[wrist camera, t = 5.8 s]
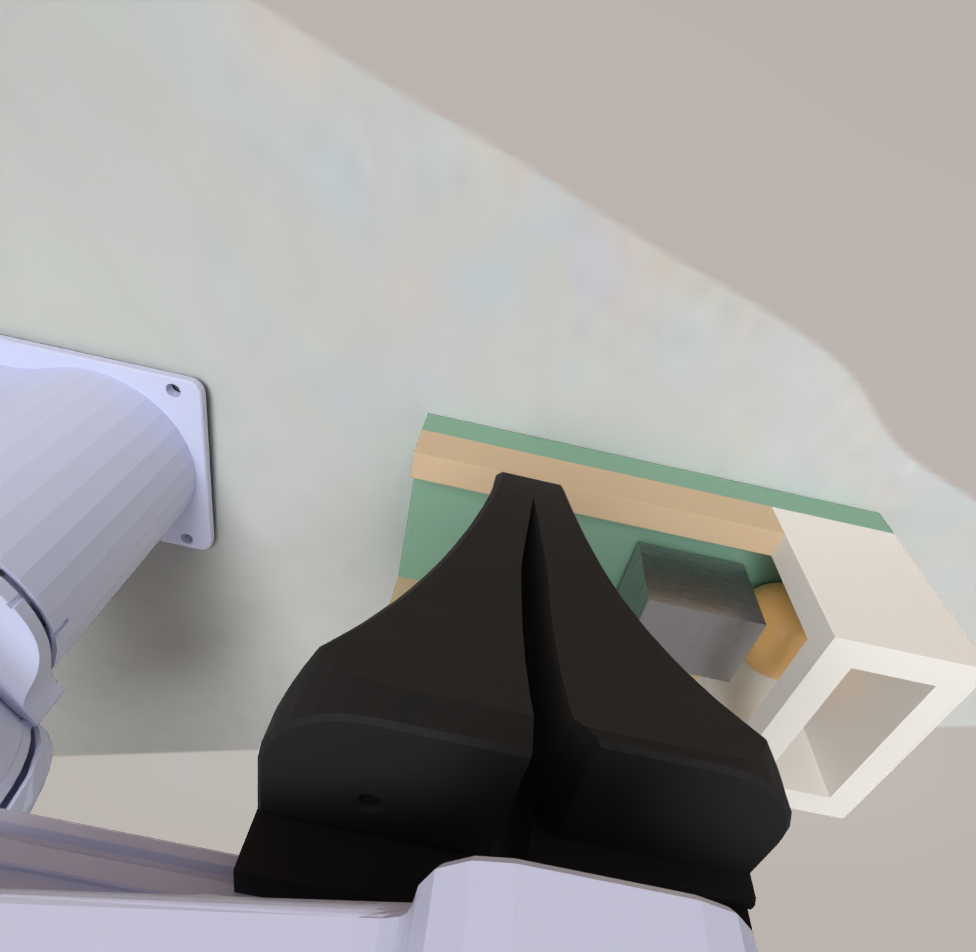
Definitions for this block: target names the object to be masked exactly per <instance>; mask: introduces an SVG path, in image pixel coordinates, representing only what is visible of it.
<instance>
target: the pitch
mask: <svg viewBox="0 0 976 952" xmlns="http://www.w3.org/2000/svg"><path fill="white" fill-rule="evenodd" d="M501 472H506V473H510V474H514V475H519V476H523V477H528V478H532V479H537V480H541V481H545V482H550V483H554V484H559V485H561V486H562V488H563V489H564V491H565V494H566V496H567V498H568V501H569V503H570V505H571V508H572V510H573V512H574V514H575V516H576V518H577V520H578V523H579V525H580V527H581V529H582V531H583V533H584V535H585V537H586V539H587V541H588V542H589V544H590V546H591V548H592V550H593V552H594V553H595V555H596V557H597V559H598V561H599V562H600V564H601V566H602V568H603V569H604V571H605V572H606V574H607V576H608V577H609V579H610V580H611V582H612V584H613V585H614V587H615V588H616V590H618V588H619V586H620V583H621V581H622V579H623V577H624V574H625V572H626V570H627V568H628V565H629V563H630V561H631V558H632V556H633V554H634V552H635V549H636V547H637V545H638V543H639V542H642V543H647V544H652V545H656V546H661V547H665V548H670V549H675V550H679V551H684V552H688V553H693V554H698V555H702V556H707V557H712V558H716V559H721V560H725V561H730V562H735V563H739V564H744V566H745V569H746V572H747V574H748V577H749V580H750V582H751V585H752V588H753V589H754V588H756V587H758V586H761V585H764V584H768V583H783V584H784V586H785V588H786V591H787V593H788V595H789V598H790V600H791V602H792V604H793V607H794V609H795V611H796V614H797V616H798V618H799V620H800V623H801V625H802V627H803V630H804V632H805V634H806V636H807V641H806V642H805V643H804V645H803V646H802V648H801V649H800V650H799V652H798V653H797V654H796V656H795V657H794V659H793V660H792V661H791V663H790V664H789V666H788V667H787V668H786V670H785V671H784V673H783V674H782V675H781V677H780V678H779V679H778V680H774V679H770V678H768V677H766V676H763V675H761V674H760V673H758V672H756V671H755V670H754V669H752V668H751V667H750V666H749V665H748V664H747V663H746V662H745V661H744V660H743V662H742V664H741V665H740V667H739V668H738V670H737V671H736V673H735V674H734V676H733V677H732V679H731V680H730V682H725V681H720V680H716V679H711V678H706V677H701V676H697V675H692V674H689V675H690V676H691V677H693V678H694V679H695V680H696V681H697V682H698V683H699V684H700V685H701V686H702V687H703V688H705V689H706V690H707V691H708V692H709V693H710V694H711V695H712V696H713V697H714V698H716V699H717V700H718V701H719V702H720V703H721V704H723V705H724V706H725V707H726V708H728V709H729V710H730V711H731V712H733V713H734V714H735V715H736V716H738V717H739V718H740V719H741V720H743V721H744V722H745V723H746V724H748V725H749V726H750V727H751V728H753V729H754V730H755V731H756V732H758V733H759V734H760V735H761V736H763V737H764V738H765V739H766V740H767V742H768V744H769V747H770V750H771V752H772V755H773V757H774V759H775V762H776V764H777V767H778V770H779V773H780V776H781V779H782V782H783V786H784V789H785V793H786V796H787V799H788V802H789V805H790V808H793V809H798V810H803V811H809V812H813V813H818V814H823V815H828V816H833V817H837V818H844V817H845V816H846V815H847V814H848V813H849V812H850V811H851V810H852V809H853V808H854V807H855V806H856V805H857V804H858V803H859V802H860V801H861V800H862V799H863V798H864V797H865V796H866V795H868V793H870V792H871V790H873V789H874V788H875V786H877V784H879V783H880V782H881V781H882V780H883V779H884V778H885V777H886V776H887V775H888V774H889V772H891V771H892V770H893V769H894V768H895V767H896V766H897V765H898V764H899V763H900V762H901V761H902V760H903V759H904V758H905V757H906V756H907V755H908V754H909V753H910V752H911V751H912V750H913V749H914V748H915V747H916V746H917V745H918V744H919V743H920V742H921V741H922V740H923V739H924V738H925V737H926V736H927V735H928V734H929V733H930V732H931V731H932V730H933V729H934V728H935V727H936V726H937V725H938V724H939V723H940V722H941V721H942V720H943V719H944V718H945V717H946V716H947V715H948V714H949V713H950V712H951V711H952V710H953V709H954V708H955V707H956V706H957V705H958V704H959V703H960V702H961V701H962V700H963V699H965V698H966V697H967V696H968V695H969V694H970V693H971V692H972V691H973V690H974V689H975V688H976V647H975V646H974V644H973V643H972V641H971V640H970V639H969V637H968V636H967V634H966V633H965V632H964V630H963V629H962V628H961V626H960V625H959V623H958V622H957V621H956V619H955V618H954V616H953V615H952V614H951V612H950V611H949V609H948V608H947V607H946V605H945V604H944V602H943V601H942V600H941V598H940V597H939V595H938V594H937V593H936V591H935V590H934V588H933V587H932V586H931V584H930V583H929V582H928V580H927V579H926V577H925V576H924V575H923V573H922V572H921V570H920V569H919V568H918V566H917V565H916V563H915V562H914V561H913V559H912V558H911V556H910V555H909V554H908V552H907V551H906V549H905V548H904V547H903V545H902V544H901V542H900V541H899V540H898V538H897V537H896V536H895V534H894V533H893V531H892V530H891V529H890V527H889V526H888V524H887V523H886V522H885V520H884V519H883V517H882V516H881V515H880V513H876V512H871V511H867V510H862V509H857V508H853V507H848V506H844V505H839V504H835V503H830V502H826V501H821V500H817V499H812V498H808V497H803V496H799V495H794V494H790V493H785V492H781V491H776V490H772V489H767V488H763V487H758V486H754V485H749V484H745V483H740V482H736V481H731V480H727V479H722V478H718V477H713V476H709V475H704V474H700V473H695V472H691V471H686V470H682V469H677V468H673V467H668V466H664V465H659V464H655V463H650V462H646V461H641V460H636V459H632V458H627V457H623V456H618V455H614V454H609V453H605V452H600V451H596V450H591V449H587V448H582V447H578V446H573V445H569V444H564V443H560V442H555V441H551V440H546V439H542V438H537V437H533V436H528V435H524V434H519V433H515V432H510V431H506V430H501V429H497V428H492V427H488V426H483V425H479V424H474V423H470V422H465V421H461V420H456V419H452V418H447V417H443V416H438V415H434V414H429V413H428V415H427V418H426V421H425V424H424V426H423V429H422V432H421V435H420V437H419V440H418V443H417V446H416V448H415V451H414V456H413V463H412V469H411V475H410V477H412V478H414V484H413V490H412V496H411V502H410V508H409V514H408V520H407V526H406V533H405V539H404V545H403V551H402V557H401V563H400V569H399V575H398V579H397V582H396V586H395V589H394V592H393V595H392V599H391V602H390V604H391V603H392V602H394V601H395V600H397V599H398V598H399V597H401V596H402V595H403V594H404V593H406V592H407V591H408V590H409V589H410V588H411V587H413V586H414V585H415V584H416V583H417V582H418V581H420V580H421V579H422V578H423V577H424V576H425V575H426V574H427V573H428V572H430V571H431V570H432V569H433V568H434V567H435V566H436V565H437V564H438V563H439V562H440V561H441V560H442V559H443V557H444V556H445V555H446V554H447V553H448V552H449V551H450V550H451V549H452V547H453V546H454V545H455V544H456V543H457V541H458V540H459V539H460V538H461V536H462V535H463V534H464V533H465V532H466V530H467V529H468V528H469V526H470V525H471V524H472V522H473V521H474V519H475V518H476V516H477V515H478V513H479V512H480V510H481V509H482V507H483V505H484V504H485V502H486V500H487V498H488V497H489V495H490V493H491V490H492V488H493V484H494V480H495V477H496V475H497V474H499V473H501Z"/></svg>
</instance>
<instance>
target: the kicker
mask: <svg viewBox="0 0 976 952" xmlns="http://www.w3.org/2000/svg"><path fill="white" fill-rule="evenodd" d="M617 591H618V593H619V594H620V596H621V597H622V598H623V600H624V601H625V602H626V604H627V605H628V606H629V607H630V609H631V610H632V611H633V613H634V614H635V615H636V617H637V618H638V619H639V621H640V622H641V623H642V624H643V625H644V627H645V628H646V629H647V630H648V631H649V632H650V634H651V635H652V636H653V637H654V638H655V639H656V640H657V641H658V642H659V644H660V645H661V646H662V647H663V648H664V649H665V650H666V651H667V652H668V653H669V654H670V656H671V657H672V658H673V659H674V660H675V661H676V662H677V663H678V664H679V665H680V666H681V667H682V668H683V669H684V670H685V671H686V672H687V673H688V674H692V675H697V676H701V677H706V678H711V679H716V680H720V681H725V682H730V680H731V679H732V677H733V676H734V674H735V673H736V671H737V670H738V668H739V667H740V665H741V664H742V662H743V660H744V659H745V657H746V656H747V654H748V653H749V651H750V650H751V648H752V647H753V645H754V644H755V642H756V641H757V639H758V638H759V636H760V635H761V633H762V631H763V630H764V628H765V627H766V622H765V620H764V617H763V614H762V612H761V609H760V606H759V604H758V601H757V598H756V596H755V593H754V590H753V588H752V585H751V582H750V580H749V577H748V574H747V572H746V569H745V566H744V564H739V563H735V562H730V561H725V560H721V559H716V558H712V557H707V556H702V555H698V554H693V553H688V552H684V551H679V550H675V549H670V548H665V547H661V546H656V545H652V544H647V543H642V542H639V543H638V545H637V547H636V549H635V552H634V554H633V556H632V558H631V561H630V563H629V565H628V568H627V570H626V572H625V574H624V577H623V579H622V581H621V583H620V586H619V588H618V590H617Z"/></svg>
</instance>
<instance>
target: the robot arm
mask: <svg viewBox="0 0 976 952" xmlns="http://www.w3.org/2000/svg"><path fill="white" fill-rule="evenodd" d="M171 384H174V385H176V386H177V387H178V388H179V389H180V392H178V391H175V390H174V388H173V387H172V385H171ZM186 534H188V535H190V536H191V537H192V538H191V537H189V536H188V535H186ZM159 541H162V542H167V543H171V544H176V545H181V546H185V547H190V548H195V549H200V550H205V549H208V548H209V547H210V546H211V545H212V543H213V542H214V525H213V508H212V491H211V475H210V458H209V441H208V424H207V407H206V392H205V388H204V386H203V385H202V383H201V382H200V381H198V380H197V379H195V378H193V377H189V376H185V375H180V374H176V373H171V372H167V371H162V370H158V369H153V368H149V367H144V366H140V365H135V364H131V363H126V362H121V361H117V360H112V359H108V358H103V357H99V356H94V355H90V354H85V353H81V352H76V351H72V350H67V349H63V348H58V347H54V346H49V345H44V344H40V343H35V342H31V341H26V340H22V339H17V338H13V337H8V336H4V335H0V952H758V950H757V946H756V941H755V937H754V933H753V931H752V927H751V923H750V918H749V914H748V909H752V908H753V907H754V906H755V901H756V897H755V893H754V889H753V884H752V881H751V876H750V872H751V871H752V870H753V869H754V868H755V867H756V866H757V865H758V864H759V863H760V862H761V861H762V860H763V859H764V858H765V857H766V856H767V855H768V853H770V852H771V850H772V849H773V848H774V847H775V846H776V845H777V844H778V843H779V842H780V840H781V839H782V838H783V836H784V834H785V833H786V831H787V830H788V828H789V827H790V821H791V813H792V812H791V809H790V805H789V802H788V799H787V796H786V793H785V789H784V786H783V782H782V779H781V776H780V773H779V770H778V767H777V764H776V762H775V759H774V757H773V755H772V752H771V750H770V747H769V744H768V742H767V740H766V739H765V738H764V737H763V736H761V735H760V734H759V733H758V732H756V731H755V730H754V729H753V728H751V727H750V726H749V725H748V724H746V723H745V722H744V721H743V720H741V719H740V718H739V717H738V716H736V715H735V714H734V713H733V712H731V711H730V710H729V709H728V708H726V707H725V706H724V705H723V704H721V703H720V702H719V701H718V700H717V699H716V698H714V697H713V696H712V695H711V694H710V693H709V692H708V691H707V690H706V689H705V688H703V687H702V686H701V685H700V684H699V683H698V682H697V681H696V680H695V679H694V678H693V677H691V676H690V675H689V674H688V673H687V672H686V671H685V670H684V669H683V668H682V667H681V666H680V665H679V664H678V663H677V662H676V661H675V660H674V659H673V658H672V657H671V656H670V654H669V653H668V652H667V651H666V650H665V649H664V648H663V647H662V646H661V645H660V644H659V642H658V641H657V640H656V639H655V638H654V637H653V636H652V635H651V634H650V632H649V631H648V630H647V629H646V628H645V627H644V625H643V624H642V623H641V622H640V621H639V619H638V618H637V617H636V615H635V614H634V613H633V611H632V610H631V609H630V607H629V606H628V605H627V604H626V602H625V601H624V600H623V598H622V597H621V596H620V594H619V593H618V591H617V590H616V588H615V587H614V585H613V584H612V582H611V580H610V579H609V577H608V576H607V574H606V572H605V571H604V569H603V568H602V566H601V564H600V562H599V561H598V559H597V557H596V555H595V553H594V552H593V550H592V548H591V546H590V544H589V542H588V541H587V539H586V537H585V535H584V533H583V531H582V529H581V527H580V525H579V523H578V520H577V518H576V516H575V514H574V512H573V510H572V508H571V505H570V503H569V501H568V498H567V496H566V494H565V491H564V489H563V488H562V486H561V485H559V484H554V483H550V482H545V481H541V480H537V479H532V478H528V477H523V476H519V475H514V474H510V473H506V472H501V473H499V474H497V475H496V477H495V480H494V484H493V488H492V490H491V493H490V495H489V497H488V498H487V500H486V502H485V504H484V505H483V507H482V509H481V510H480V512H479V513H478V515H477V516H476V518H475V519H474V521H473V522H472V524H471V525H470V526H469V528H468V529H467V530H466V532H465V533H464V534H463V535H462V536H461V538H460V539H459V540H458V541H457V543H456V544H455V545H454V546H453V547H452V549H451V550H450V551H449V552H448V553H447V554H446V555H445V556H444V557H443V559H442V560H441V561H440V562H439V563H438V564H437V565H436V566H435V567H434V568H433V569H432V570H431V571H430V572H428V573H427V574H426V575H425V576H424V577H423V578H422V579H421V580H420V581H418V582H417V583H416V584H415V585H414V586H413V587H411V588H410V589H409V590H408V591H407V592H406V593H404V594H403V595H402V596H401V597H399V598H398V599H397V600H395V601H394V602H392V603H391V604H390V605H388V606H387V607H385V608H384V609H382V610H381V611H380V612H378V613H377V614H375V615H374V616H372V617H371V618H369V619H368V620H367V621H365V622H363V623H362V624H360V625H358V626H357V627H355V628H353V629H351V630H350V631H348V632H346V633H344V634H342V635H341V636H339V637H337V638H335V639H333V640H332V641H330V642H328V643H326V644H324V645H322V646H321V647H319V648H318V650H317V651H316V652H315V653H314V654H313V656H312V657H311V658H310V660H309V661H308V662H307V663H306V665H305V666H304V667H303V668H302V670H301V671H300V673H299V674H298V675H297V677H296V678H295V679H294V681H293V682H292V684H291V685H290V687H289V688H288V690H287V692H286V693H285V695H284V697H283V698H282V700H281V702H280V703H279V705H278V707H277V709H276V711H275V713H274V715H273V717H272V719H271V722H270V724H269V726H268V729H267V731H266V733H265V736H264V738H263V740H262V743H261V747H260V751H259V755H258V809H257V812H256V814H255V817H254V819H253V822H252V824H251V827H250V829H249V832H248V834H247V837H246V839H245V842H244V844H243V847H242V849H241V852H240V854H239V855H235V854H230V853H225V852H220V851H215V850H210V849H205V848H199V847H195V846H189V845H184V844H179V843H174V842H169V841H164V840H159V839H154V838H149V837H144V836H139V835H134V834H129V833H124V832H119V831H114V830H109V829H104V828H99V827H94V826H89V825H84V824H79V823H73V822H68V821H63V820H58V819H53V818H48V817H43V816H38V815H33V814H30V812H31V809H32V808H33V806H34V804H35V801H36V799H37V798H38V795H39V793H40V792H41V790H42V788H43V785H44V783H45V780H46V777H47V775H48V772H49V769H50V765H51V760H52V742H51V740H50V737H49V735H48V733H47V731H46V730H45V729H44V728H43V727H42V726H41V725H40V724H39V723H40V722H41V721H42V719H43V718H44V717H45V716H46V714H47V713H48V712H49V710H50V709H51V708H52V707H53V705H54V704H55V703H56V701H57V700H58V699H59V698H60V696H61V695H62V694H63V692H64V690H63V688H62V687H61V685H60V684H59V683H58V682H57V680H56V679H55V677H54V675H53V673H52V670H53V668H54V667H55V666H56V665H57V664H58V662H59V661H60V660H61V659H62V658H63V656H64V655H65V654H66V653H67V652H68V650H69V649H70V648H71V647H72V646H73V644H74V643H75V642H76V641H77V639H78V638H79V637H80V636H81V635H82V633H83V632H84V631H85V630H86V629H87V627H88V626H89V625H90V624H91V623H92V621H93V620H94V619H95V618H96V617H97V615H98V614H99V613H100V612H101V611H102V609H103V608H104V607H105V606H106V604H107V603H108V602H109V601H110V600H111V598H112V597H113V596H114V595H115V594H116V592H117V591H118V590H119V589H120V588H121V586H122V585H123V584H124V583H125V582H126V580H127V579H128V578H129V577H130V575H131V574H132V573H133V572H134V571H135V569H136V568H137V567H138V566H139V565H140V563H141V562H142V561H143V560H144V559H145V557H146V556H147V555H148V554H149V553H150V551H151V550H152V549H153V548H154V547H155V545H156V544H157V543H158V542H159Z"/></svg>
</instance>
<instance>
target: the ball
mask: <svg viewBox="0 0 976 952" xmlns="http://www.w3.org/2000/svg"><path fill="white" fill-rule="evenodd" d="M753 590H754V593H755V596H756V598H757V601H758V604H759V606H760V609H761V612H762V614H763V617H764V620H765V622H766V627H765V628H764V630H763V631H762V633H761V635H760V636H759V638H758V639H757V641H756V642H755V644H754V645H753V647H752V648H751V650H750V651H749V653H748V654H747V656H746V657H745V659H744V661H745V662H746V663H747V664H748V665H749V666H750V667H751V668H752V669H754V670H755V671H756V672H758V673H760V674H761V675H763V676H766V677H768V678H770V679H774V680H778V679H779V678H780V677H781V675H782V674H783V673H784V671H785V670H786V668H787V667H788V666H789V664H790V663H791V661H792V660H793V659H794V657H795V656H796V654H797V653H798V652H799V650H800V649H801V648H802V646H803V645H804V643H805V642H806V641H807V636H806V634H805V632H804V630H803V627H802V625H801V623H800V620H799V618H798V616H797V614H796V611H795V609H794V607H793V604H792V602H791V600H790V598H789V595H788V593H787V591H786V588H785V586H784V584H783V583H768V584H764V585H761V586H758V587H756V588H754V589H753Z"/></svg>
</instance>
